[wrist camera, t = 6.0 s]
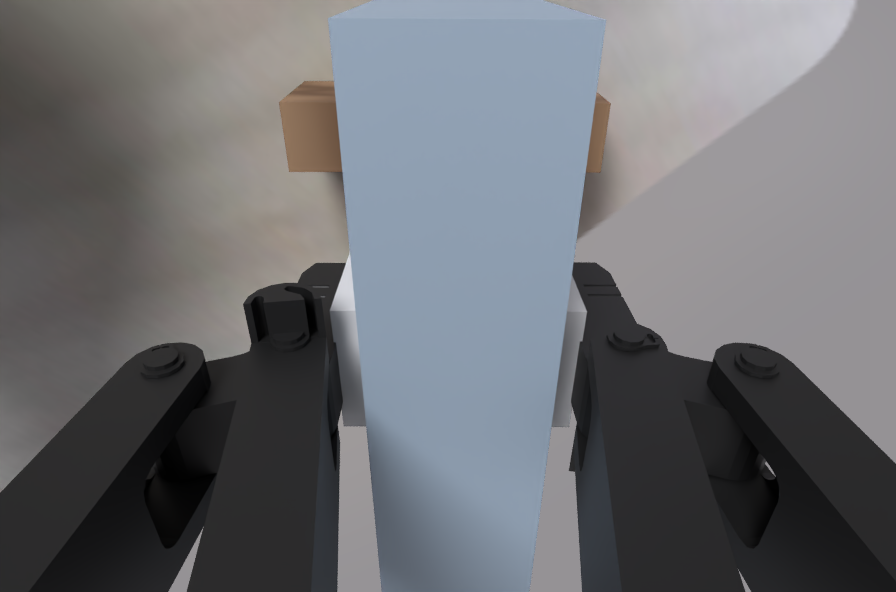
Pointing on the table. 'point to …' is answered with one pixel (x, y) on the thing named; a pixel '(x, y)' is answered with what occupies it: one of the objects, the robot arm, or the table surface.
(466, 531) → the pale blue upright slab
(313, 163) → the walnut u-shaped block
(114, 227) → the table surface
